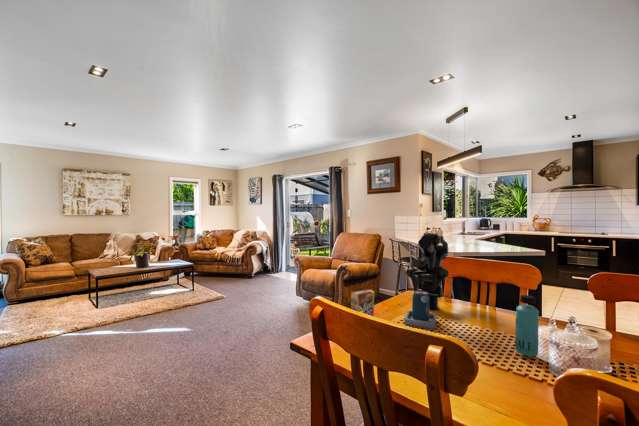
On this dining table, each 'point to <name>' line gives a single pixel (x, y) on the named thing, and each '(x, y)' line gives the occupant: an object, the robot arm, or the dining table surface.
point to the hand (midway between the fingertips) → (423, 291)
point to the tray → (418, 323)
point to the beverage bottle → (527, 327)
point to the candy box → (363, 301)
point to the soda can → (420, 305)
